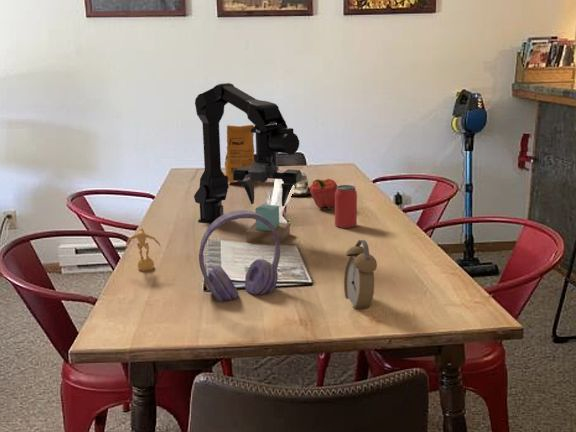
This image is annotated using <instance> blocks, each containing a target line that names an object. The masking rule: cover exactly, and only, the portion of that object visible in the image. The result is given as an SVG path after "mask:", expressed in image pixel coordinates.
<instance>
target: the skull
mask: <svg viewBox="0 0 576 432" xmlns="http://www.w3.org/2000/svg"><path fill="white" fill-rule="evenodd" d="M300 171H301V173H302V180H300V181H299V182H298V183H296V184H294V186H295V190H294V194H293V195H292V196H303V195H304V196H305V195H309V194H311V192H310V186H309V179H308V177H307V175H306V173H305V172H304V171H302V170H300Z"/></svg>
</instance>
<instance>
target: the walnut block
mask: <svg viewBox="0 0 576 432" xmlns="http://www.w3.org/2000/svg"><path fill="white" fill-rule="evenodd" d="M290 227H291V224H290V222H279V227H277V228H276V231H277V234H278V237H279V242H280V245H282V244H283V242H285V241H286V240H287V238H288V237H289V236H290V235H291V228H290ZM245 240H246V243H255V244H271V245H275V242H276V241H275V238H274V235H273V233H272V231H267V230H258V229H256V221H255V222H254V223H253V224H252V225H251V226H250V227H249V228H248V229H247V230H246V231H245Z"/></svg>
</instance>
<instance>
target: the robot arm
mask: <svg viewBox="0 0 576 432" xmlns="http://www.w3.org/2000/svg"><path fill="white" fill-rule="evenodd" d="M194 104H195V110H196V115H197V117H198V118H199V121H201V123H202V139H203V141H202V142H203V158H204V159H203V162H204V170H203V173H202V174H201V176H200V178H199V188H198V189H197V190H196V192H195V194H193V198H194V202H195V203H196V204H199V216H200V217H199V219H198V220H197V222H198V223H207V224H212V223H213V222H214V221H215V220H216V219H217V218H219V217H220V216H222V215H223V214H225V213H224V205H223V204H222V203H223V202H222V201H226V199H227V195H228V191H229V190H228V189H230V187H229V182H228V176H227V175H226V174H224V172H223V170H222V161H221V160H222V159H221V157H222V156H221V138H220V136H221V135H220V134H221V133H220V122H221V121H222V120H221V119H222V118H223V115H224V114H225V106H226V105H227V104H230V105H232V107H233V106H234V107H235V108H237V109H238V110H240V111H242V112H243V113H245V114H246V117H247V119H248V120H249V121H250V123H252V125H254V127H253V128H252V129H251V130H250V132H251V133H253V134H255V154H254V163H253V164H252V165H251V167H239V168H237V169H235V170H234V171H233V174H232V176H233V180H238V181H236V182H237V184H240V185H241V186H243V188H244V189H245V192H246V195H247V196H248V199H249V201H250V204H251V205H254V203H255V182H257V183H258V182H260V183H266V182H268V180H269V179H272V180H273V179H275V180H281V181H282V183H281V191H282V192H281V206H282V207H285V205H286V202H287V201H288V197H289V192H290V190H291V188H292V186H293V185H294V184H296V183H298V182H299V181H300V180H302V173H301V171H302V170H300V169H286V170H284V171H283V172H281V171H279V166H278V156H279V153H280V154H285V155H290V156H291V155H292V156H293V155H294V154H296V153H297V151H298V150H299V147H300V140H299V137H298V135H297V133H295V132H294V128H292V127H288V125H287V122H286V120H285V118H284V117H283V115H282V112H281V111H280V107H279V106H278V104H276V103H273V102H271V101H268V100H261V99H256V98H255V97H253V96H251V95H250V94H248V93H247V92H244V91H243V90H241V89H239V88H238V87H236V86H234V84H233V83H231V82H230V83H229V82H225V83H218V84H216V85H215V86H213V87H212V88H211V89H208V90H205V91H204V92H202V93H199V94H197V96H196V97H195V100H194Z"/></svg>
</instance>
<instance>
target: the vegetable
mask: <svg viewBox="0 0 576 432" xmlns="http://www.w3.org/2000/svg"><path fill="white" fill-rule="evenodd" d="M338 186H339V185H338V184H337V183H336V181H335V180H334V179H331V178H327V179H318V178H317V179H314V180H313V181H312V184H311V185H310V186H309V187H310V192H311V193H310V194H311V196H312V199H313V202H314V204H315V205H316V207H318V208H321V209H323V208H325V207H326V208H335V192H336V190H337V187H338Z"/></svg>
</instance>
